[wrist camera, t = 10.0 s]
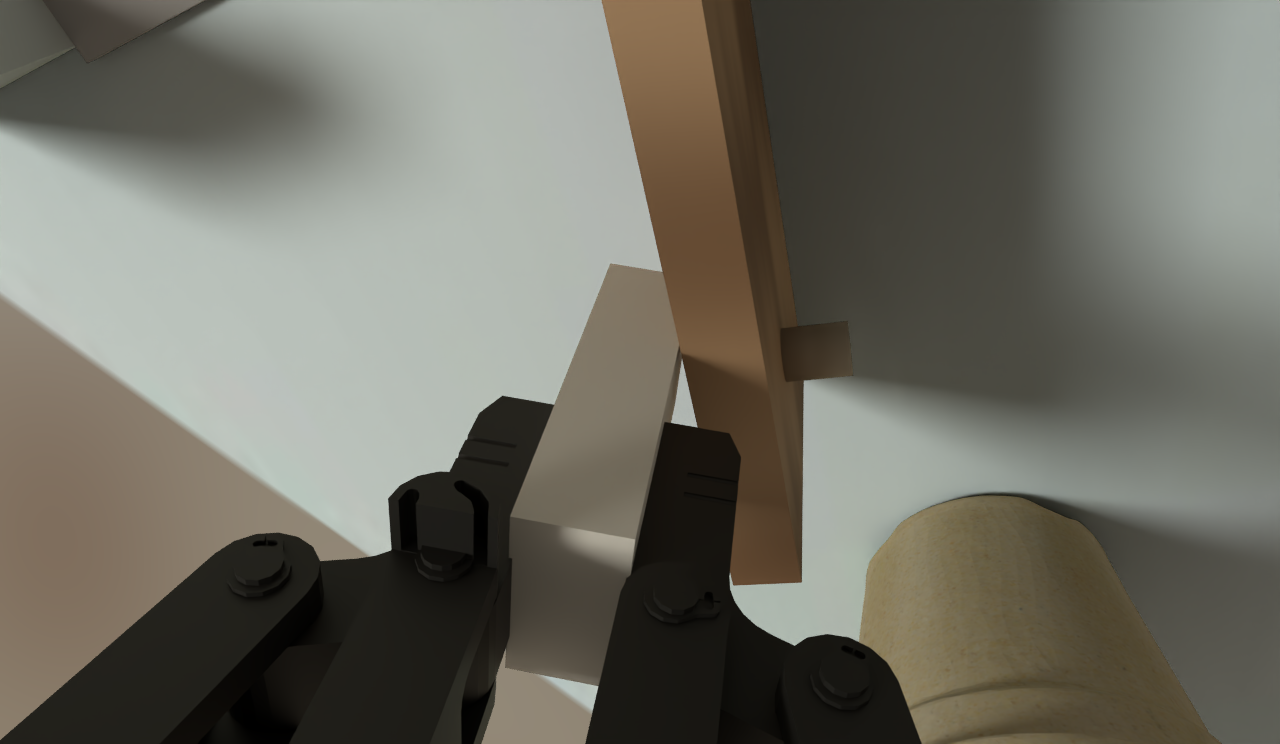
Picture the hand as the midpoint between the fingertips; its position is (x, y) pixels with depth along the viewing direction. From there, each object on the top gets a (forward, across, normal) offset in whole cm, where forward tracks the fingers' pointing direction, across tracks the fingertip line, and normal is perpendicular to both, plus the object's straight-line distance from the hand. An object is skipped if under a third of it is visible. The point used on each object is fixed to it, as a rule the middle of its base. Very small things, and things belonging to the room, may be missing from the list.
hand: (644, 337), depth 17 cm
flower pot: (+5, +10, -9) cm, 14 cm away
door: (+5, +1, +4) cm, 6 cm away
